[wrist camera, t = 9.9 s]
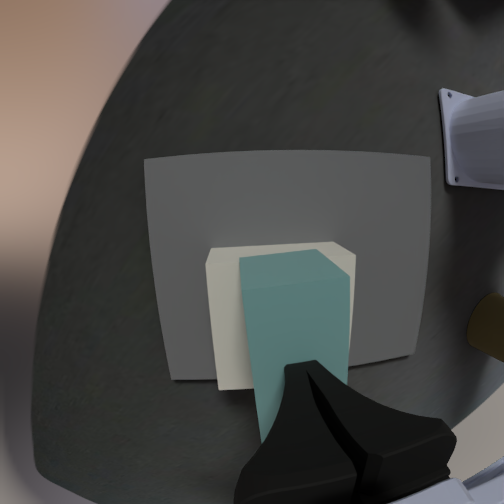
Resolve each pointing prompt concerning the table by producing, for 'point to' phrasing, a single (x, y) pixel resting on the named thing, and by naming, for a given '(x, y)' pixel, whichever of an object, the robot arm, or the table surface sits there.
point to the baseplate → (290, 237)
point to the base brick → (232, 311)
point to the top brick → (293, 321)
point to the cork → (488, 326)
